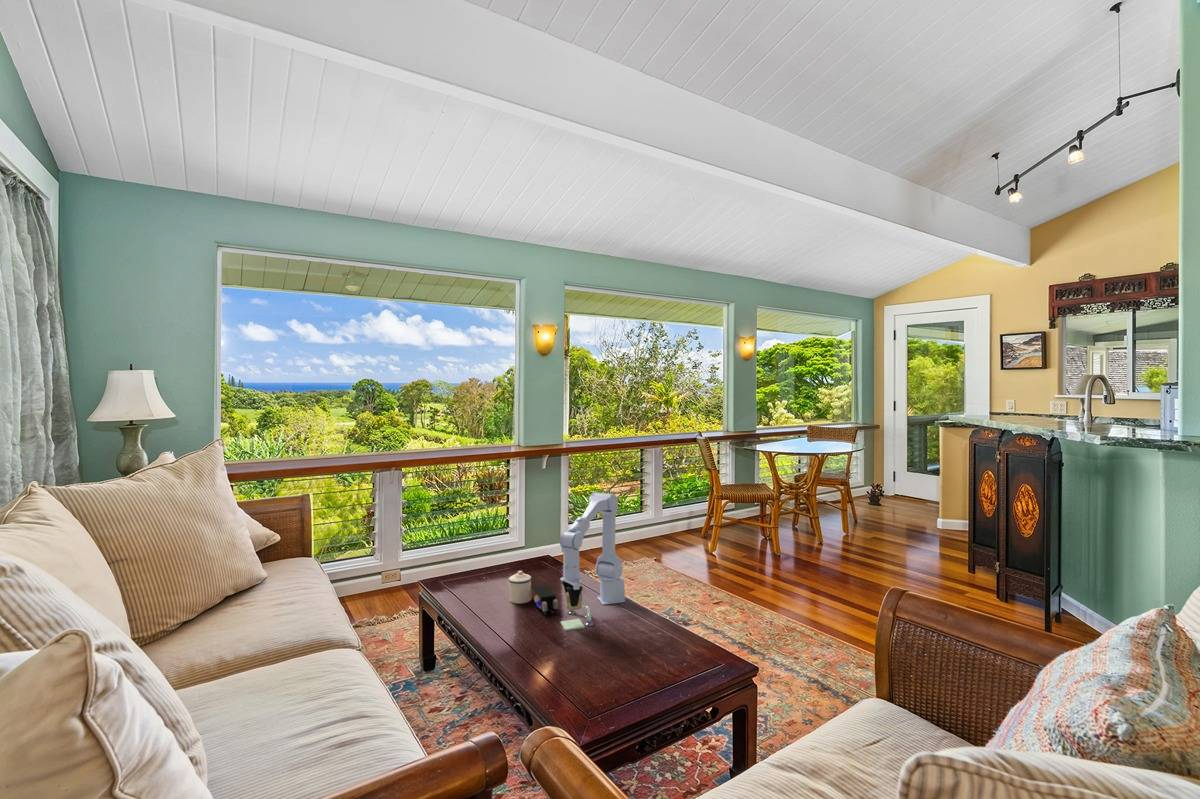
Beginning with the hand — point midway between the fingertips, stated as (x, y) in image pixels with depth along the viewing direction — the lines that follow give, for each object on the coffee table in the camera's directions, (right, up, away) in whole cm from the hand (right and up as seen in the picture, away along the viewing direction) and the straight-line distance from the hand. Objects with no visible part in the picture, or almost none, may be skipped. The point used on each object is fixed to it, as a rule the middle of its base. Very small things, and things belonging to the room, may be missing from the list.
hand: (572, 602), depth 197 cm
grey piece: (+3, -8, +7) cm, 11 cm away
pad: (0, -8, 0) cm, 8 cm away
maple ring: (+1, -2, 0) cm, 2 cm away
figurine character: (-11, -8, +15) cm, 21 cm away
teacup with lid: (-23, -8, +27) cm, 36 cm away
